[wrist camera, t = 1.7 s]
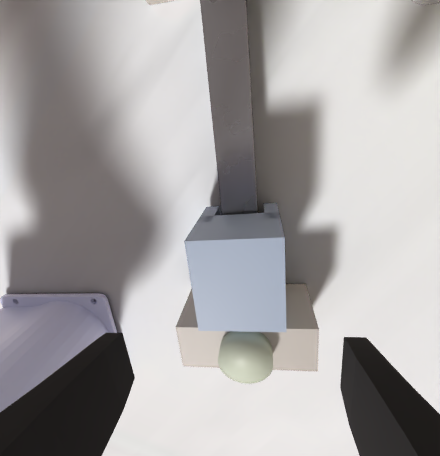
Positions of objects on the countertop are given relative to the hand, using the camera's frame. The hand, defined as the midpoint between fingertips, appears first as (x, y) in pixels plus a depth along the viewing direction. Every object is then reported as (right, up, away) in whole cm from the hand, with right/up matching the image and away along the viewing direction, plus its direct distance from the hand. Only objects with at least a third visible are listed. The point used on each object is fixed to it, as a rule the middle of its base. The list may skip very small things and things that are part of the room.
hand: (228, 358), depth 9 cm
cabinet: (+2, -1, +11) cm, 11 cm away
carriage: (+1, +4, +9) cm, 10 cm away
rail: (+1, +8, +8) cm, 11 cm away
